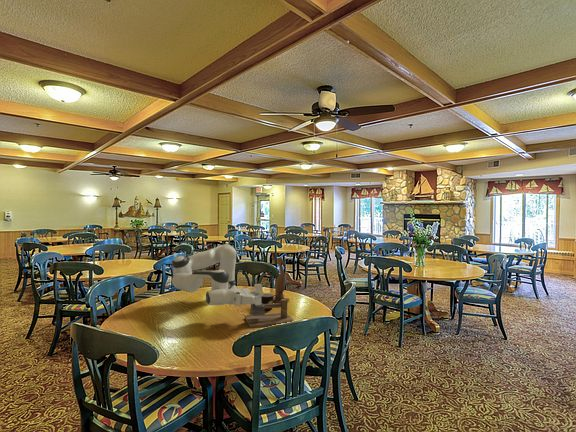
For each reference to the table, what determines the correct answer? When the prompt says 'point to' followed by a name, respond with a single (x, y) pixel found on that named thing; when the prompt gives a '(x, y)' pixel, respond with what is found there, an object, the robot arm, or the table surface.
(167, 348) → the table surface
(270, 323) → the cup bracket
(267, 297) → the coffee mug
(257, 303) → the rail
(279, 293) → the bird sculpture
